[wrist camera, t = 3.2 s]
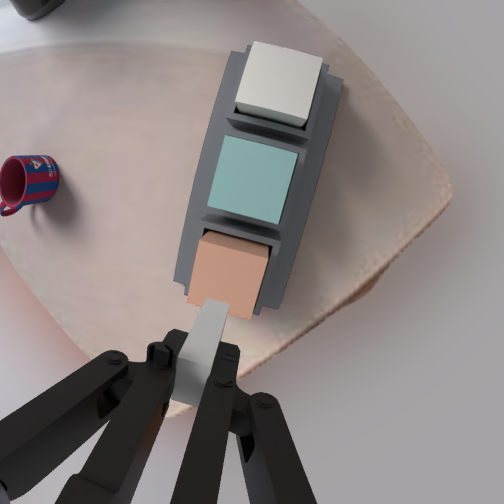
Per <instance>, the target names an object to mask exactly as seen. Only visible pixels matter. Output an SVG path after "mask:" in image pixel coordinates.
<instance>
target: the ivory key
mask: <svg viewBox="0 0 504 504" xmlns="http://www.w3.org/2000/svg"><path fill="white" fill-rule="evenodd" d="M322 60H323V58H321V57H317V56H314V55H311V54H307V53H304V52H300V51H296V50H292V49H288V48H284V47H280V46H276V45H271V44H266V43H262V42H257V41H253V44H252V47H251V51H250V54H249V57H248V60H247V63H246V66H245V69H244V73H243V76H242V79H241V82H240V86H239V89H238V92H237V96H236V99H235V103H236V105H237V107H238V109H239V112H240V114H244V115H248V116H252V117H257V118H261V119H265V120H269V121H273V122H277V123H280V124H284V125H288V126H291V127H295V128H298V129H300V128H301V127H302V126H303V124H304V123H305V122H306V120H307V118H308V114H309V110H310V106H311V103H312V99H313V95H314V91H315V87H316V83H317V79H318V76H319V72H320V68H321V64H322Z"/></svg>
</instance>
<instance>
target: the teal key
mask: <svg viewBox="0 0 504 504" xmlns="http://www.w3.org/2000/svg"><path fill="white" fill-rule="evenodd" d="M297 155H298V154H297V153H294V152H290V151H287V150H283V149H280V148H276V147H272V146H268V145H265V144H261V143H257V142H253V141H249V140H245V139H240V138H236V137H232V136H227V135H225V138H224V141H223V145H222V149H221V153H220V156H219V160H218V164H217V168H216V172H215V176H214V180H213V184H212V188H211V192H210V196H209V200H208V204H207V206H210V207H214V208H218V209H222V210H226V211H230V212H233V213H237V214H241V215H245V216H249V217H252V218H256V219H260V220H264V221H267V222H271V223H275V224H278V223H279V220H280V216H281V213H282V209H283V206H284V202H285V198H286V195H287V191H288V188H289V184H290V180H291V177H292V173H293V170H294V166H295V162H296V159H297Z"/></svg>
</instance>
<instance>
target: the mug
mask: <svg viewBox="0 0 504 504" xmlns="http://www.w3.org/2000/svg"><path fill="white" fill-rule="evenodd" d="M58 181H59V173H58V168H57V165H56V163H55V161H54V160H53V159H52V158H51V157H49V156H45V155H29V156H11V157H9V158H8V159H7V160H6V161H5V162H4V164H3V166H2V168H1V171H0V196H1V198H2V200H3V201H2V202H1V204H0V214H1V216H9V215H12V214H14V213H16V212H17V211H18V210H20V209H21V208H22V207H23V206H25V205H29V204H34V203H39V202H44V201H47V200H49V199H50V198H51V197H52V196H53V195H54V193H55V191H56V189H57V186H58ZM6 206H8V207H10V208H11V209H8V210H5V211H3V210H4V208H5V207H6Z"/></svg>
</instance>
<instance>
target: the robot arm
mask: <svg viewBox="0 0 504 504" xmlns="http://www.w3.org/2000/svg"><path fill="white" fill-rule="evenodd" d="M9 1H10V2H11V4H12V5H13V6H14V8H15V9H16V10H17V12H18V13H19V15H21V16H22V17H24V18H26V19H29V20H34V19H38V18H40V17H43V16H44V15H46V14H48V13H49V12H51V11H52V10H54V9H55V8H56V7H58V6H59V5H60V4H61V3H62V2H63V1H64V0H9ZM229 306H230V304H228V303H224V302H220V301H217V300H213V299H209V298H206V300H205V302H204V304H203V306H202V308H201V310H200V312H199V314H198V316H197V318H196V320H195V322H194V324H193V326H192V328H191V330H190V332H189V333H187V332H184V331H180V330H177V329H173V330H171V331H169V332H168V333H167V335H166V337H165V338H164V340H163V342H153V343H150V344H149V345H148V347H147V359H146V362H131V361H128V360H129V359H128V357H127V356H126V355H125V354H124V353H122V352H120V351H116V350H109V351H106V352H104V353H102V354H100V355H99V356H97V357H96V358H94V359H93V360H91V361H90V362H89V363H87V364H85V365H84V366H82V367H81V368H80V369H78V370H77V371H75V372H73V373H72V374H70V375H69V376H67V377H66V378H65V379H63V380H61V381H60V382H58V383H57V384H55V385H54V386H52V387H51V388H49V389H48V390H46V391H45V392H43V393H42V394H40V395H38V396H37V397H35V398H34V399H33V400H31V401H29V402H28V403H26V404H25V405H23V406H22V407H21V408H19V409H17V410H16V411H14V412H13V413H11V414H10V415H8V416H7V417H5V418H4V419H2V420H1V421H0V504H10V501H12V500H14V499H17V498H19V497H20V496H22V495H24V494H25V493H27V492H28V491H29V490H31V489H32V488H33V487H34V486H35V485H37V484H38V483H39V482H40V481H41V480H42V479H43V478H45V477H46V476H47V475H48V474H49V473H51V472H52V471H53V470H54V469H55V468H56V467H57V466H58V465H60V464H61V463H62V462H63V461H64V460H65V459H67V458H68V457H69V456H70V455H71V454H72V453H73V452H74V451H76V450H77V449H78V448H79V447H80V446H81V445H82V444H83V443H85V442H86V441H87V440H88V439H89V438H90V437H91V436H92V435H93V434H95V433H96V432H97V430H99V429H100V428H101V427H102V426H103V425H104V424H105V423H107V422H108V421H109V420H110V421H109V423H108V424H107V426H106V428H105V430H104V431H103V433H102V435H101V436H100V438H99V440H98V442H97V443H96V445H95V447H94V449H93V450H92V452H91V454H90V456H89V457H88V459H87V461H86V463H85V465H84V466H83V468H82V470H81V471H80V473H78V474H73V475H72V476H71V477H70V478H69V479H68V481H67V483H66V484H65V486H64V488H63V489H62V491H61V493H60V495H59V497H58V499H57V500H56V502H55V504H130V503H131V501H132V498H133V495H134V493H135V490H136V488H137V485H138V482H139V480H140V477H141V475H142V472H143V470H144V467H145V465H146V462H147V459H148V457H149V454H150V452H151V450H152V447H153V444H154V442H155V439H156V437H157V435H158V432H159V430H160V427H161V425H162V422H163V420H164V417H165V415H166V412H167V410H168V407H169V400H170V398H171V395H172V398H171V399H172V400H175V401H178V402H182V403H185V404H188V405H192V406H195V407H198V411H197V414H196V417H195V421H194V424H193V427H192V431H191V434H190V437H189V441H188V444H187V448H186V451H185V454H184V458H183V461H182V465H181V468H180V471H179V475H178V478H177V481H176V485H175V488H174V492H173V495H172V499H171V502H170V504H217V499H218V493H219V487H220V481H221V475H222V469H223V463H224V457H225V451H226V445H227V439H228V433H229V431H230V432H232V433H234V434H236V439H237V444H238V448H239V454H240V459H241V464H242V469H243V474H244V478H245V483H246V487H247V491H248V496H249V501H250V504H317V502H316V500H315V497H314V494H313V492H312V489H311V487H310V484H309V482H308V479H307V476H306V474H305V471H304V469H303V466H302V463H301V461H300V458H299V456H298V453H297V450H296V448H295V445H294V442H293V440H292V437H291V434H290V432H289V429H288V426H287V423H286V421H285V418H284V415H283V413H282V410H281V407H280V404H279V402H278V401H277V399H276V398H275V397H274V396H272V395H270V394H268V393H263V392H259V393H255V394H253V395H252V396H251V395H249V394H247V393H245V392H243V391H242V390H241V389H239V387H238V386H237V384H236V376H237V370H238V364H239V358H240V350H239V348H238V346H237V345H233V344H229V343H226V342H222V341H221V338H222V334H223V330H224V326H225V322H226V318H227V314H228V310H229Z"/></svg>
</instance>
